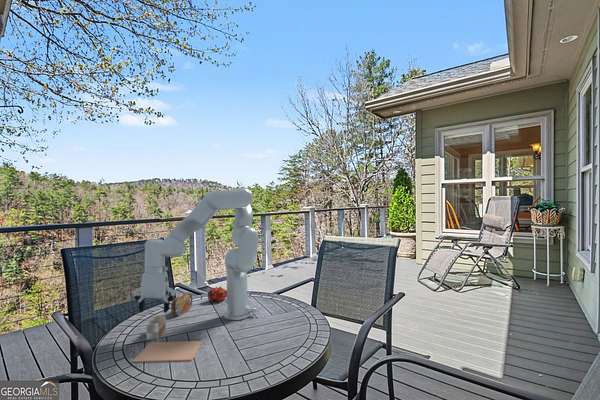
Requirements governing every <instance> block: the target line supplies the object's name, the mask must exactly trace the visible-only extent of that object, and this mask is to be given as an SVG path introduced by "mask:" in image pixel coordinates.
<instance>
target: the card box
mask: <svg viewBox="0 0 600 400" xmlns="http://www.w3.org/2000/svg"><path fill="white" fill-rule="evenodd" d="M166 321H167V320H166V315H156V316H154V317H153V318H152V319H151V320H150V321H149V322H147V324H146V341H147V340H149V341H150V340H155V341H156V340H158V339H159V337H161V336H162V334H163V333H164V332H166V330H167V326H166Z"/></svg>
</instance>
